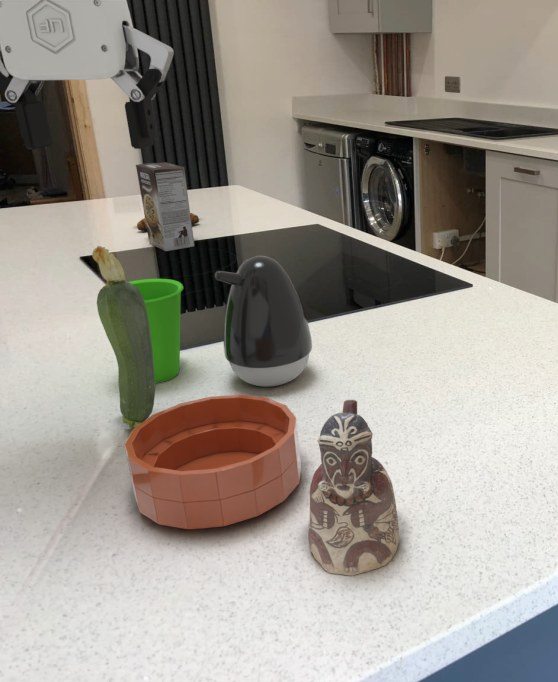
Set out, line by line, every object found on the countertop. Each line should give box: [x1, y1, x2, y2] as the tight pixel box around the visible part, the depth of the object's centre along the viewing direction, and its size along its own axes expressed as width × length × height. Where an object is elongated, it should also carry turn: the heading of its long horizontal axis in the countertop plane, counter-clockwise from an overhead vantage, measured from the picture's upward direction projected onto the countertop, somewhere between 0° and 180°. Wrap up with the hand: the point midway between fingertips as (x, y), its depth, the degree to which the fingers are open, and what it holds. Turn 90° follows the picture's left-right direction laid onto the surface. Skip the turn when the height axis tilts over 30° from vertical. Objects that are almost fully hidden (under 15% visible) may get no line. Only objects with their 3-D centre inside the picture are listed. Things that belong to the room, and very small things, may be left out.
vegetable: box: [91, 245, 156, 428], centre depth 74 cm, size 4×4×20 cm
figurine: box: [307, 399, 400, 577], centre depth 57 cm, size 7×7×12 cm
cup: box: [128, 278, 184, 384], centre depth 88 cm, size 9×9×11 cm
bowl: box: [123, 394, 302, 530], centre depth 66 cm, size 14×14×6 cm
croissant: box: [136, 212, 200, 232], centre depth 164 cm, size 14×7×5 cm, turn 125°
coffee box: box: [135, 161, 195, 252], centre depth 147 cm, size 9×6×16 cm
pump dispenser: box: [214, 255, 313, 388], centre depth 86 cm, size 10×10×15 cm
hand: (91, 147), depth 67 cm, fingers open, 9 cm apart
